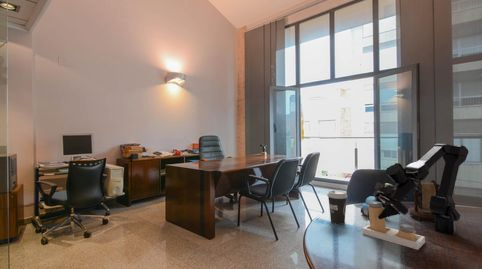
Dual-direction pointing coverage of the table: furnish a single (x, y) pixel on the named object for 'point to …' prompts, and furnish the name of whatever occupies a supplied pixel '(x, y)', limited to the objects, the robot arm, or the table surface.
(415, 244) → the housing
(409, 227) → the grey and tan piece
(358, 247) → the table surface
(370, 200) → the toy excavator
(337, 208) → the coffee cup
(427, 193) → the scroll
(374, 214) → the knob-topped wooden post
